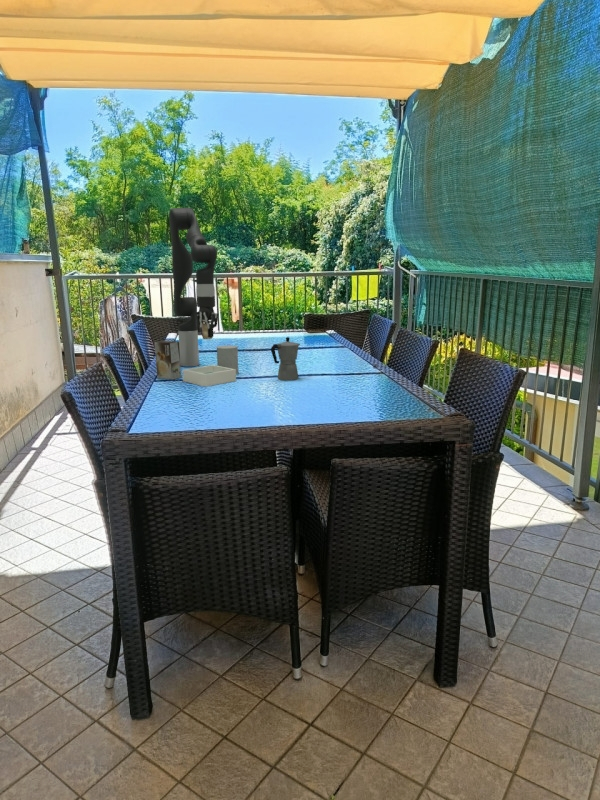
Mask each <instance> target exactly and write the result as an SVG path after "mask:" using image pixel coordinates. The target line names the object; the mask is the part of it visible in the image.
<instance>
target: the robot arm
mask: <svg viewBox="0 0 600 800" xmlns="http://www.w3.org/2000/svg"><path fill="white" fill-rule="evenodd" d="M168 220H169V221H168V223H169V229H170V238H171V240H170V241H171V261H172V262H171V264H172V276H173V311H174V315H175V316H176V317H178V318H179V317H180V318H182V317H183V318H184V317H189V319H188V320H186V321H185V322H183V323H180V324H178V327H177V329H178V331H177V332H178V341H179V349H180V364H181V367H186V368H187V367H190V368H191V367H199V365H200V355H199V354H200V353H199V349H200V348H199V336H198V333H199V332H198V326H199V327H200V331H201V332H200V333H201V334H200V335H201V337H202V338H203V334H202V324H207V326H208V337H209V338H212V339H213V338H214V328H217V326H218V321H219V313H217V312H215V309H214V307H216V290H215V279H214V275H215V274H214V272H215V266H216V261H217V258H218V250H217V248H216V247H215V246H214V245H212V244H208V242H207V240H206V238H205V237H204V235H203V233H202V231H201V229H200V225H199V222H198V218H197V216H196V213H195V212H194V209H192V208H191V207H177V208H176V207H175V208H174V207H173V208H171V209H170V210H169V212H168ZM184 230H185V231H187V232H186V236H185V239H186V242H187V244H188V246H189V248H190V251H189V249H187V247H186V246H185V245H184V243H183V241H182V239H181V237H180V233H179V231H184ZM193 262H194V263H196V264H207V265H206V266H205V267H202V268H199V269H197V270H196V272H195V276H196V277H195V279H196V288H195V293H196V294H195V295H196V297H195V296H186V297H185V296H182V292H183V290H184V288H185V286H186V285H187V283H188V281H189V280H190V279H191V277H192V275H193V272H194V265H193V264H194V263H193ZM198 308H199V309H198Z"/></svg>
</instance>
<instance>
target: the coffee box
mask: <svg viewBox="0 0 600 800" xmlns="http://www.w3.org/2000/svg"><path fill="white" fill-rule="evenodd" d="M154 349H155V350H154V353H155V354H154V355H155V363H156V364H155V365H156V376H157V377H156V378H157V379H161V380H162V379H163V380H165V379H166V380H176V379H180V378H182V366H181V364H180V349H179V340H178V341H176V340H166V339H165V340H157V341H154Z"/></svg>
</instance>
